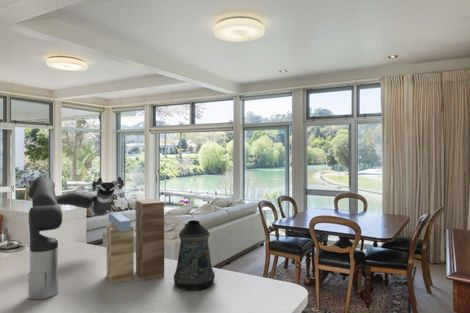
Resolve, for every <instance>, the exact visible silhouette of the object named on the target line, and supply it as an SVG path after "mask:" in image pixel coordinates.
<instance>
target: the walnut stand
mask: <svg viewBox="0 0 470 313" xmlns="http://www.w3.org/2000/svg"><path fill="white" fill-rule="evenodd" d="M134 201H135V207H134V209H135V273H136V274H137V276H139V278H142V279H141V280H142V281H143V282H144V280H145V281H149V280H154V279H155V280H156V279H161V278H164V277H165V201H162V200H159V199H156V198H150V199H137V200H134Z"/></svg>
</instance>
